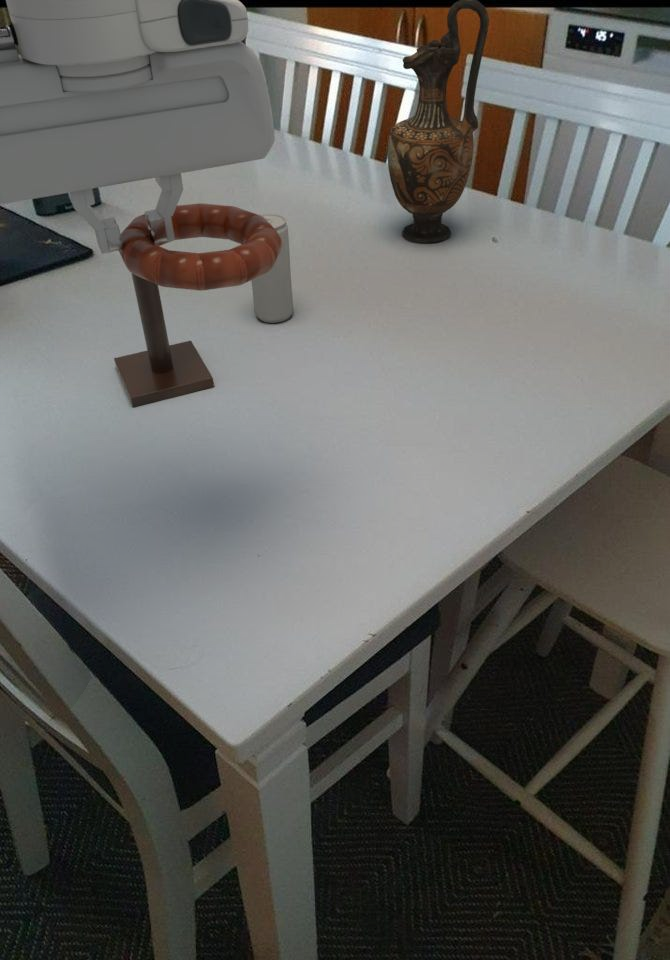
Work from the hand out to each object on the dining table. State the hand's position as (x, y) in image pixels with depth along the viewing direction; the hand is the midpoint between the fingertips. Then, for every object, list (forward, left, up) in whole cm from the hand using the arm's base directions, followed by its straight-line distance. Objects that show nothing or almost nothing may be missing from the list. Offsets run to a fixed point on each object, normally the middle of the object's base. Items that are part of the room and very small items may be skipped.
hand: (137, 244), depth 56 cm
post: (+3, +24, -25) cm, 35 cm away
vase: (+48, +45, -26) cm, 71 cm away
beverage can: (+19, +32, -26) cm, 46 cm away
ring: (+4, 0, -1) cm, 4 cm away
